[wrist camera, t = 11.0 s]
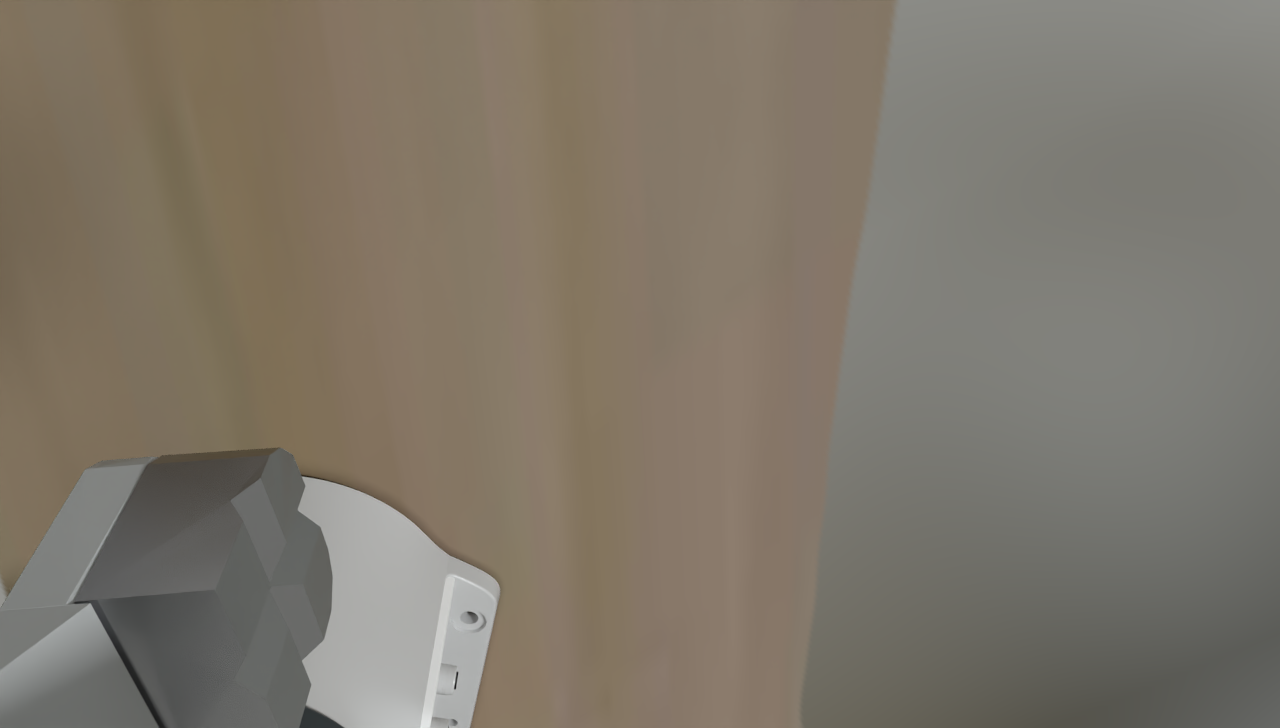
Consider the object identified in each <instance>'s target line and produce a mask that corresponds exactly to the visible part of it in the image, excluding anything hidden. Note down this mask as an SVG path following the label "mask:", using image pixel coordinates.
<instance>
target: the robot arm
mask: <svg viewBox="0 0 1280 728" xmlns="http://www.w3.org/2000/svg"><path fill="white" fill-rule="evenodd" d="M499 597H500V587H499V584H498V583H497V581H496V580H495V579H494V578H493V577H491V576H490V575H489V574H487V573H485V572H484V571H482V570H480V569H478V568H476V567H474V566H472V565H470V564H468V563H465V562H463V561H461V560H459V559H456V558H454V557H452V556H450V555H448V554H447V553H445V552H444V551H443V550H441V549H440V548H439V547H438V546H437V545H436V544H435V543H434V542H433V541H432V540H431V539H430V538H429V537H428V536H427V535H426V534H425V533H423V532H422V531H421V530H420V529H419V528H418V527H417V526H416V525H415V524H414V523H413V522H411V521H410V520H409V519H408V518H406V517H405V516H404V515H402V514H401V513H399V512H398V511H396V510H395V509H393V508H392V507H390V506H388V505H387V504H385V503H383V502H381V501H379V500H377V499H375V498H373V497H371V496H369V495H367V494H365V493H362V492H360V491H357V490H355V489H352V488H349V487H346V486H343V485H340V484H336V483H333V482H329V481H325V480H320V479H315V478H309V477H302V476H301V474H300V471H299V469H298V466H297V464H296V462H295V459H294V457H293V455H292V454H291V453H289V452H287V451H285V450H284V449H282V448H266V449H251V450H236V451H221V452H207V453H192V454H177V455H162V456H160V457H142V458H130V459H117V460H105V461H100V462H98V463H96V464H94V465H92V466H91V467H89V468H87V469H85V471H84V472H83V474H82V475H81V477H80V478H79V480H78V482H77V483H76V485H75V487H74V488H73V490H72V492H71V493H70V495H69V497H68V498H67V500H66V501H65V503H64V505H63V506H62V508H61V510H60V511H59V513H58V515H57V516H56V518H55V520H54V521H53V523H52V524H51V526H50V528H49V529H48V531H47V533H46V534H45V536H44V538H43V539H42V541H41V543H40V544H39V546H38V547H37V549H36V551H35V552H34V554H33V556H32V557H31V559H30V561H29V562H28V564H27V566H26V567H25V569H24V570H23V572H22V574H21V575H20V577H19V579H18V580H17V582H16V584H15V585H14V587H13V588H12V590H11V592H10V593H9V595H8V597H7V598H6V600H5V602H4V603H3V605H2V607H1V608H0V728H470V727H471V722H472V718H473V713H474V709H475V704H476V700H477V695H478V691H479V687H480V682H481V678H482V673H483V669H484V664H485V660H486V655H487V651H488V646H489V642H490V637H491V633H492V628H493V624H494V620H495V615H496V611H497V606H498V602H499ZM468 611H469V612H468Z"/></svg>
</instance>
